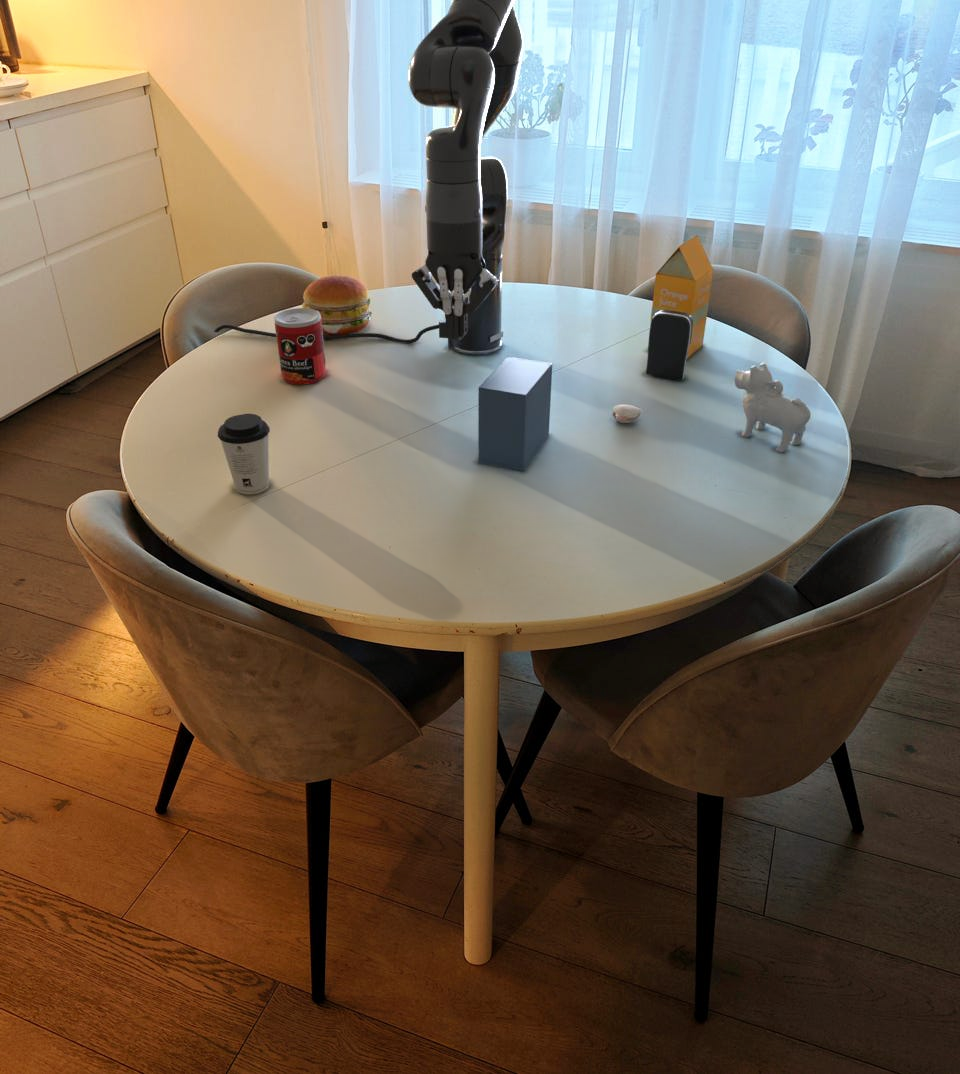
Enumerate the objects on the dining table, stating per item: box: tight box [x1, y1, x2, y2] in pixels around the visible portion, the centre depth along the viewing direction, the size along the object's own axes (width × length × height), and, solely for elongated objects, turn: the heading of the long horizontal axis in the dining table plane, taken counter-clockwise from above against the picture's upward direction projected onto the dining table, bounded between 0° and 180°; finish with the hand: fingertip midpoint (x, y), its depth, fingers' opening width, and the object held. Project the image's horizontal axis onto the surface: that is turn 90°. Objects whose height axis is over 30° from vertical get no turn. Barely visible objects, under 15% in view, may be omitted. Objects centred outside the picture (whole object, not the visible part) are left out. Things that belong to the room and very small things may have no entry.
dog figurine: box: [734, 362, 811, 453], centre depth 137 cm, size 5×13×11 cm, turn 40°
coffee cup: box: [217, 412, 271, 496], centre depth 124 cm, size 7×7×10 cm
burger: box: [301, 274, 373, 335], centre depth 176 cm, size 14×14×10 cm
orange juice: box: [650, 235, 715, 359], centre depth 164 cm, size 8×9×20 cm
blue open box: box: [477, 356, 553, 472], centre depth 133 cm, size 7×12×12 cm, turn 158°
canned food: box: [273, 307, 327, 386], centre depth 156 cm, size 8×8×11 cm
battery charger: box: [645, 310, 693, 381], centre depth 156 cm, size 7×4×11 cm, turn 65°
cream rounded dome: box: [612, 403, 643, 424], centre depth 144 cm, size 4×5×2 cm
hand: (456, 338), depth 130 cm, fingers closed
